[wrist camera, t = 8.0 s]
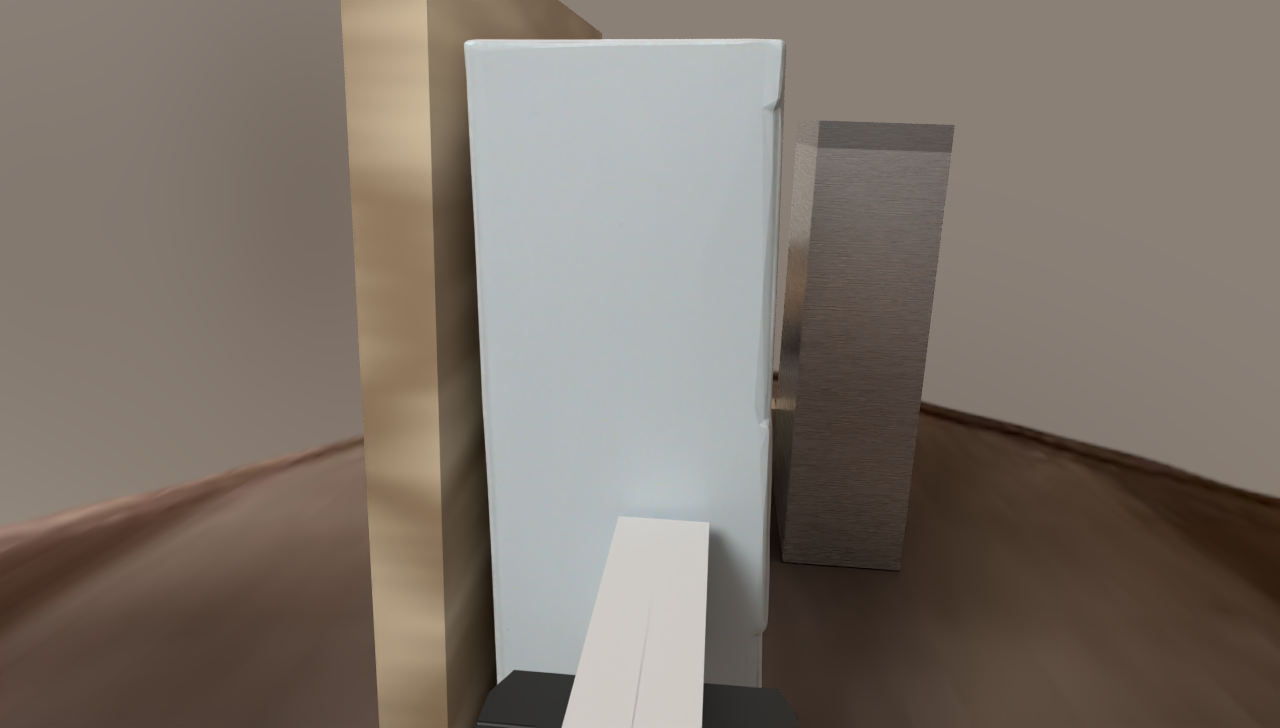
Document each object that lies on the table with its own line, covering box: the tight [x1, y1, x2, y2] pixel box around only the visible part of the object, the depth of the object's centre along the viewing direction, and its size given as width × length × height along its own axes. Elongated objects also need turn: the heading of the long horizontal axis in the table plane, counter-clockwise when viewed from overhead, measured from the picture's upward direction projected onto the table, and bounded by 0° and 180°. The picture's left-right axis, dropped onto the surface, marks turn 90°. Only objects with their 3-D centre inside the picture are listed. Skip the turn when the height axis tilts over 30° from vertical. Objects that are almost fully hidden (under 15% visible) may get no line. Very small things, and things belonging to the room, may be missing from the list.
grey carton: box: [772, 121, 954, 571], centre depth 32 cm, size 4×8×15 cm, turn 175°
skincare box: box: [464, 39, 786, 688], centre depth 25 cm, size 21×5×16 cm, turn 178°
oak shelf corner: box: [341, 0, 776, 728], centre depth 27 cm, size 10×22×18 cm, turn 175°
